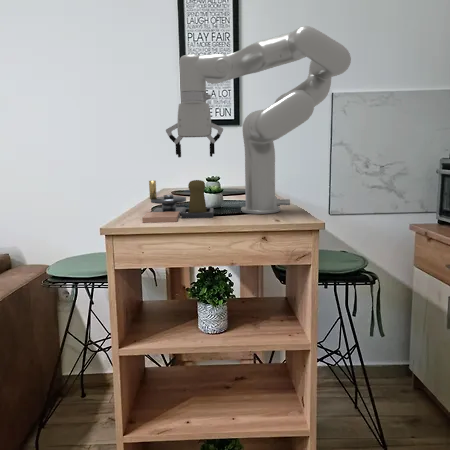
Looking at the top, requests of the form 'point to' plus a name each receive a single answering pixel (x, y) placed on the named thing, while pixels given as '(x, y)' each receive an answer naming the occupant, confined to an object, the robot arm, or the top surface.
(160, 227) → the top surface
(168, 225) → the top surface
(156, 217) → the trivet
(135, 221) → the top surface
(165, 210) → the hub
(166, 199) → the handwheel
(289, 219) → the top surface
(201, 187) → the cork
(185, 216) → the collar
